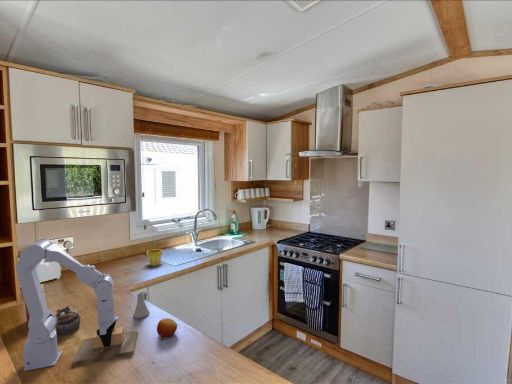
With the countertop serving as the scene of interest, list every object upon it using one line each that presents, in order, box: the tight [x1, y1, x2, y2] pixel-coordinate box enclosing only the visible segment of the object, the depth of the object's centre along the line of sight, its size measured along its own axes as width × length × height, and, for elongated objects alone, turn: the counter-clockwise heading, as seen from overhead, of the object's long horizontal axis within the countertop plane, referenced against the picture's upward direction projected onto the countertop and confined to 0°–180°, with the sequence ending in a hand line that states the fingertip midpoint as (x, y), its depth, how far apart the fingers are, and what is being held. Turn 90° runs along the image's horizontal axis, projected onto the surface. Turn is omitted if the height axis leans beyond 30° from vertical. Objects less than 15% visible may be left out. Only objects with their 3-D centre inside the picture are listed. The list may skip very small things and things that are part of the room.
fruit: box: [156, 317, 178, 342], centre depth 119 cm, size 8×8×8 cm
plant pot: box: [146, 248, 163, 267], centre depth 204 cm, size 10×10×10 cm
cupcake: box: [54, 305, 82, 337], centre depth 124 cm, size 10×10×10 cm
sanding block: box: [91, 326, 125, 350], centre depth 111 cm, size 10×4×5 cm, turn 106°
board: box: [71, 329, 139, 367], centre depth 111 cm, size 20×14×2 cm
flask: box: [133, 292, 150, 319], centre depth 136 cm, size 7×7×10 cm
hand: (108, 342), depth 111 cm, fingers closed on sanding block, 4 cm apart
